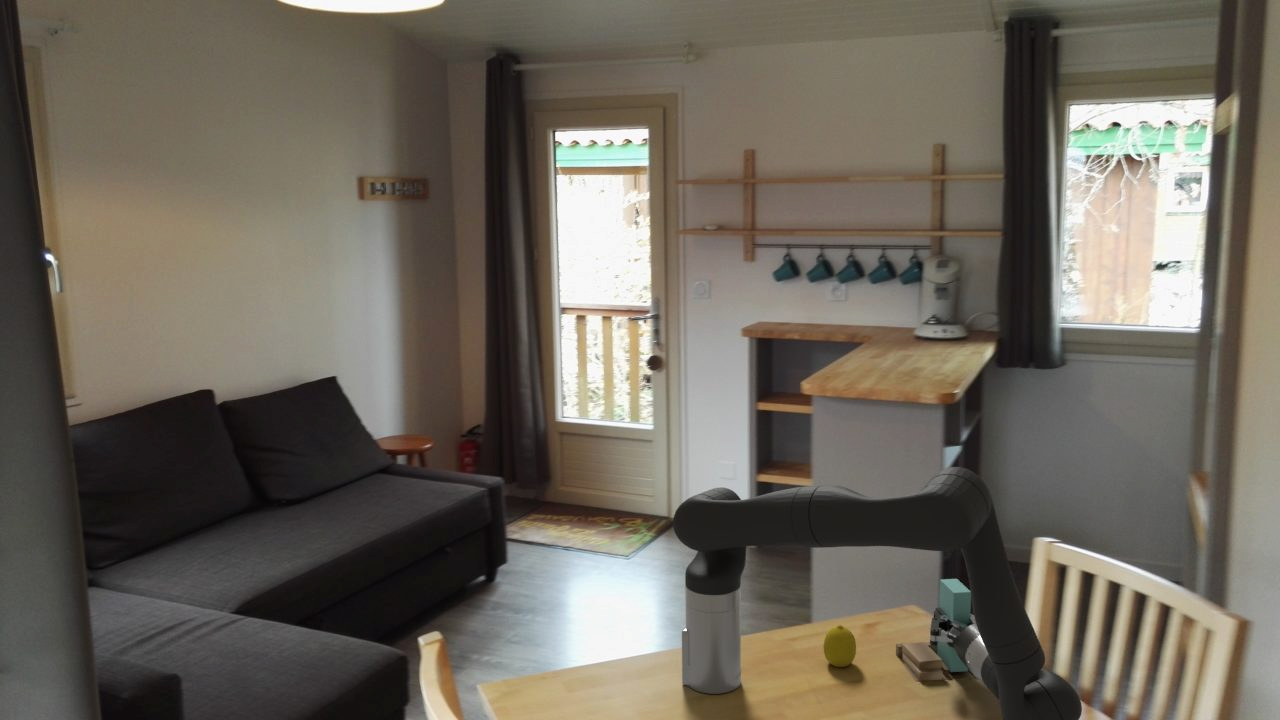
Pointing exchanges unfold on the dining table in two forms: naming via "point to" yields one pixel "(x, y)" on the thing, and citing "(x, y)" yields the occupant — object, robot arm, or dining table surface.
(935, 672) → the offcut lower
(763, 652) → the dining table surface
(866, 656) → the dining table surface
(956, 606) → the teal rectangular block
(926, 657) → the offcut upper
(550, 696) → the dining table surface
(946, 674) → the rack
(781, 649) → the dining table surface
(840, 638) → the lemon
